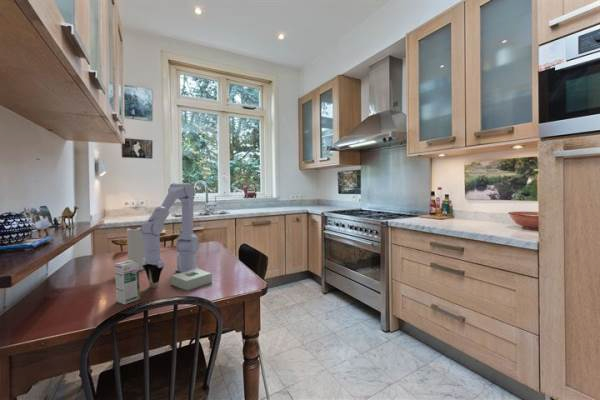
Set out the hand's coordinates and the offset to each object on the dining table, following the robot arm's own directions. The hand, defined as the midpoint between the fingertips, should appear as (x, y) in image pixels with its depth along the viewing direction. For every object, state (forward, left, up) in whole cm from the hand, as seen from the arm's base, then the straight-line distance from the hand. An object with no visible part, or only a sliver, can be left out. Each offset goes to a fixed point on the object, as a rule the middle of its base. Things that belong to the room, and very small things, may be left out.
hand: (153, 281), depth 115 cm
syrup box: (+6, -12, -3) cm, 14 cm away
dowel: (0, 0, -2) cm, 2 cm away
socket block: (+9, +12, -2) cm, 15 cm away
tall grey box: (-32, +6, -3) cm, 33 cm away
